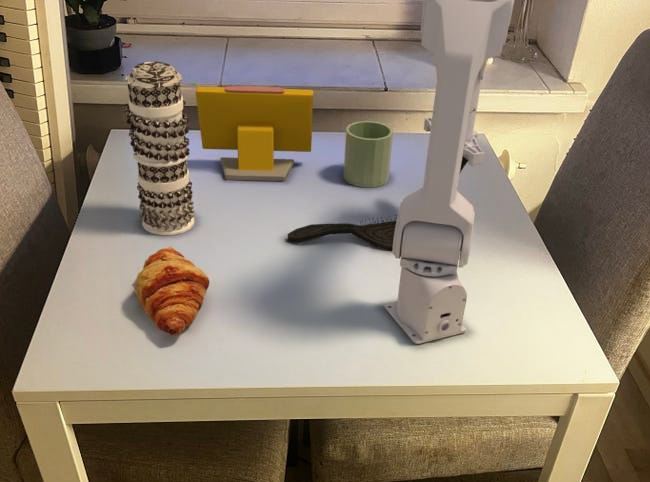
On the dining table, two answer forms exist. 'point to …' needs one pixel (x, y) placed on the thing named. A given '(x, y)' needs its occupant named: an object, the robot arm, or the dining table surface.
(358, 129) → the coffee cup
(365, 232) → the hairbrush
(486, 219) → the dining table surface
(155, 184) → the decorative candle
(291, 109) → the yellow framed monitor
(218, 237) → the dining table surface
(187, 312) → the croissant
